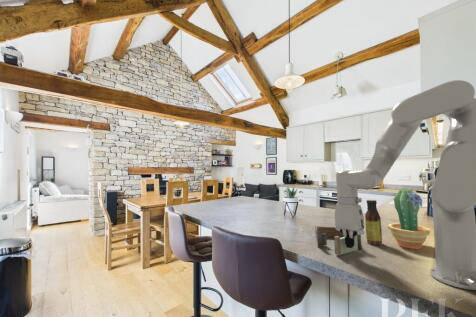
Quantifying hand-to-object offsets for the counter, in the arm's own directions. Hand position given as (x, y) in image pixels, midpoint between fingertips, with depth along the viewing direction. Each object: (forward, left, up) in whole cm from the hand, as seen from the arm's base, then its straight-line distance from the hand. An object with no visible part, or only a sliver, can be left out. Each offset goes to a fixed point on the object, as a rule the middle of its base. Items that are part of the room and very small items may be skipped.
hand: (350, 246), depth 88 cm
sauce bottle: (+18, -14, -4) cm, 24 cm away
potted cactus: (+18, -28, -4) cm, 34 cm away
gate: (+3, +1, -3) cm, 5 cm away
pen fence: (+16, +3, -4) cm, 17 cm away
